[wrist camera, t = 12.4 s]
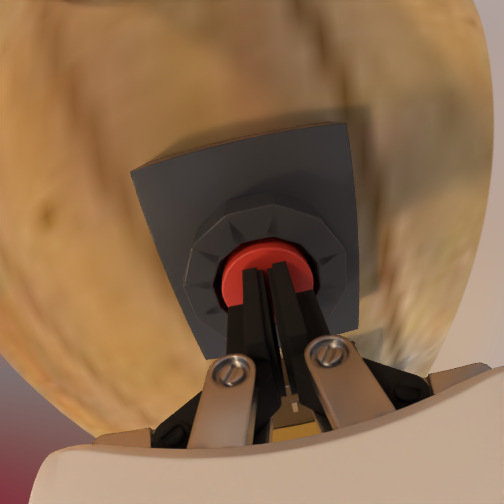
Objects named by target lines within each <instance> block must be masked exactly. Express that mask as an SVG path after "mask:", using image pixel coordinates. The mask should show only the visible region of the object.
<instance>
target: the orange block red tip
mask: <svg viewBox="0 0 504 504" xmlns="http://www.w3.org/2000/svg"><path fill="white" fill-rule="evenodd" d="M316 434H320V431H319V429H318V427H317V424H316V422H310V423H306V424H301V425H296V426H290V427H285V428H279V429H273V436H272V443H273V442H279V441H285V440H291V439H297V438H302V437H307V436H312V435H316Z"/></svg>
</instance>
